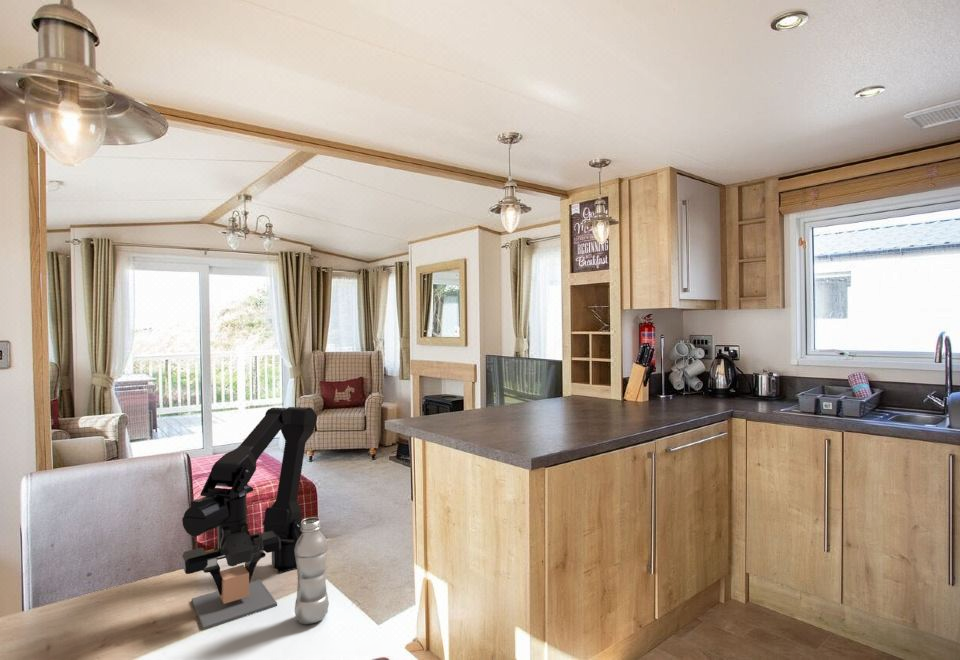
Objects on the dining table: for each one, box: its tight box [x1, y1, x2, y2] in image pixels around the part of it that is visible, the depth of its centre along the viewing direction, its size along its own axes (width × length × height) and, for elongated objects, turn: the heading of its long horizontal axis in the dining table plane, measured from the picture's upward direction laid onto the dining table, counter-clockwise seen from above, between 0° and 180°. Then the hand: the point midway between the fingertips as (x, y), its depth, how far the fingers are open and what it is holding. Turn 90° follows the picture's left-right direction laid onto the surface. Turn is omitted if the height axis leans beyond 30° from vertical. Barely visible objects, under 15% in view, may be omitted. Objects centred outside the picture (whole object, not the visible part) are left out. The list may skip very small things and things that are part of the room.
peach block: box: [219, 564, 249, 604], centre depth 111 cm, size 5×5×5 cm
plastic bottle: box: [294, 516, 330, 625], centre depth 105 cm, size 6×7×20 cm
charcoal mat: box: [191, 578, 278, 631], centre depth 111 cm, size 14×14×1 cm
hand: (233, 590), depth 111 cm, fingers closed on peach block, 5 cm apart
